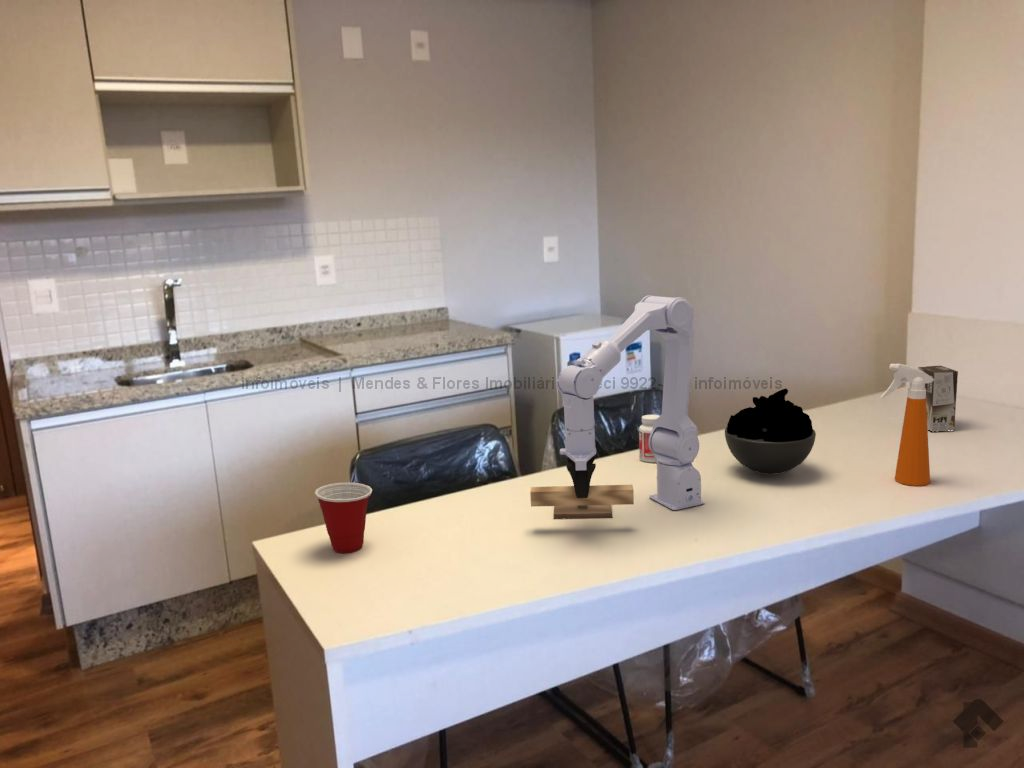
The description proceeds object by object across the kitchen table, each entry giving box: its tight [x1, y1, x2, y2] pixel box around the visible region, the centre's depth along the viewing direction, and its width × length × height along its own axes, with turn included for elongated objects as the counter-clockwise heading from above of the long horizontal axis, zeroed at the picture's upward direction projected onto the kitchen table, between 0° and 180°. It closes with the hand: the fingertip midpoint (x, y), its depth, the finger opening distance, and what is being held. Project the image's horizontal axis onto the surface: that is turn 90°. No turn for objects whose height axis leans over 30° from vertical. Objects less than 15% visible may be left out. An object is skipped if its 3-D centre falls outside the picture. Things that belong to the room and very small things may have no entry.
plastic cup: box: [314, 482, 373, 554], centre depth 159 cm, size 11×11×12 cm
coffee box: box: [917, 365, 959, 432], centre depth 218 cm, size 9×6×16 cm
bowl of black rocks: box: [724, 388, 817, 475], centre depth 189 cm, size 20×20×19 cm
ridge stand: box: [553, 505, 613, 520], centre depth 176 cm, size 16×12×5 cm
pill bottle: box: [638, 414, 661, 463], centre depth 204 cm, size 6×6×11 cm
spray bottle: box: [879, 363, 934, 487], centre depth 178 cm, size 7×11×26 cm, turn 78°
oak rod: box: [529, 484, 635, 508], centre depth 161 cm, size 20×3×3 cm, turn 86°
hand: (582, 494), depth 161 cm, fingers closed on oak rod, 3 cm apart
